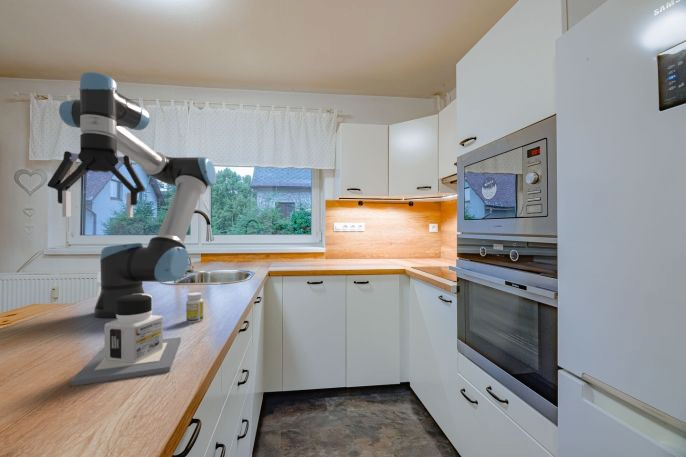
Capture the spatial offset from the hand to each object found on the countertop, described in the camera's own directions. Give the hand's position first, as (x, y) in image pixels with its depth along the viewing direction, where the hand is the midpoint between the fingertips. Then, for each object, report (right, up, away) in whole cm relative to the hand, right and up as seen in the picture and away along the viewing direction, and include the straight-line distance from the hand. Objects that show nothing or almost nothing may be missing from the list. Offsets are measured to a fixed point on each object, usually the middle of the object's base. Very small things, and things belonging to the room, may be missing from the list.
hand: (99, 217), depth 81 cm
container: (+18, -31, -13) cm, 38 cm away
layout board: (+18, -32, -13) cm, 39 cm away
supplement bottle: (+18, -32, +16) cm, 40 cm away
